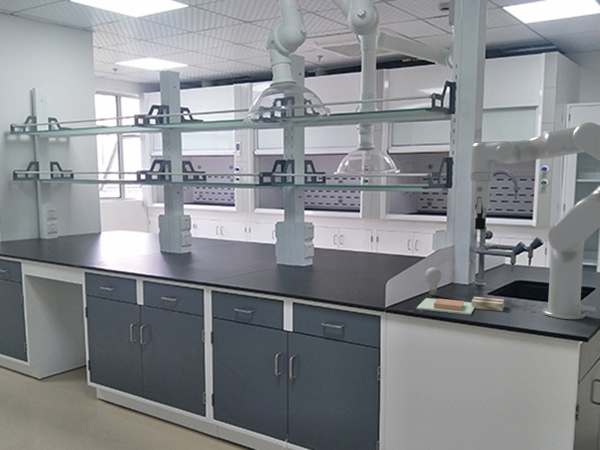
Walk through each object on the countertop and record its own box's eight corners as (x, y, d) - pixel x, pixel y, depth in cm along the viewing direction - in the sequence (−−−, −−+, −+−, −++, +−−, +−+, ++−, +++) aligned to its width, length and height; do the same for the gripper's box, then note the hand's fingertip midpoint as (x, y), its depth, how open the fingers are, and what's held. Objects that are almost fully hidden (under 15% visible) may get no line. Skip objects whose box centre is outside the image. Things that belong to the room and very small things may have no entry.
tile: (438, 298, 192) (464, 301, 188) (437, 302, 192) (463, 305, 188) (433, 303, 184) (460, 306, 181) (433, 307, 185) (460, 310, 181)
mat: (476, 304, 192) (476, 303, 192) (470, 315, 178) (470, 313, 178) (426, 299, 200) (426, 298, 200) (416, 309, 185) (416, 307, 185)
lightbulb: (422, 296, 206) (423, 267, 205) (428, 293, 211) (428, 265, 210) (437, 298, 202) (438, 269, 201) (443, 295, 207) (444, 267, 206)
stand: (503, 306, 190) (504, 299, 190) (502, 311, 183) (502, 304, 183) (473, 303, 194) (474, 296, 194) (471, 307, 187) (471, 300, 187)
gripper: (491, 177, 182) (489, 231, 183) (494, 177, 195) (492, 228, 197) (468, 177, 185) (466, 230, 186) (473, 177, 198) (471, 227, 200)
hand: (479, 229), depth 192 cm, fingers closed
